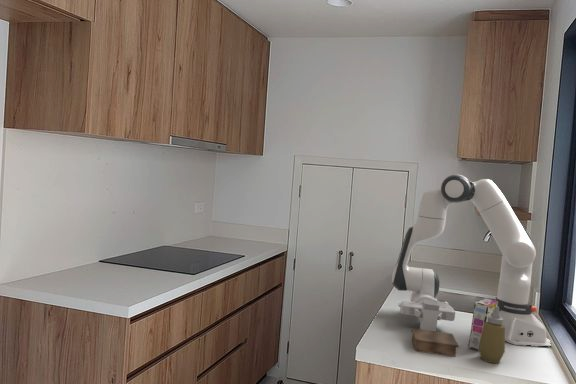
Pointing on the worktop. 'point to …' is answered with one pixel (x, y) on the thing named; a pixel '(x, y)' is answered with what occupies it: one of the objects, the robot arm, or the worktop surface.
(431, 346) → the stand
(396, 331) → the worktop surface
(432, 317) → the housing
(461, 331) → the worktop surface
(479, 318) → the candy bar box
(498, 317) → the squeeze bottle
